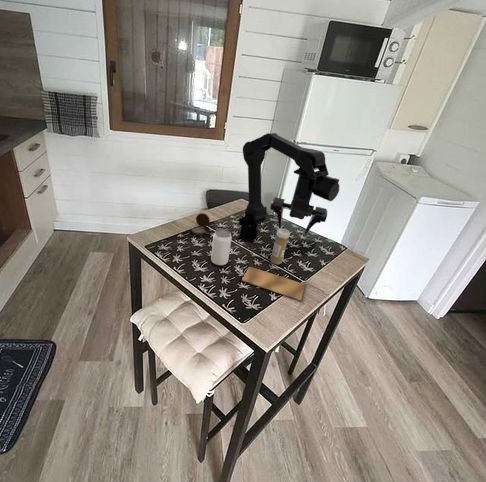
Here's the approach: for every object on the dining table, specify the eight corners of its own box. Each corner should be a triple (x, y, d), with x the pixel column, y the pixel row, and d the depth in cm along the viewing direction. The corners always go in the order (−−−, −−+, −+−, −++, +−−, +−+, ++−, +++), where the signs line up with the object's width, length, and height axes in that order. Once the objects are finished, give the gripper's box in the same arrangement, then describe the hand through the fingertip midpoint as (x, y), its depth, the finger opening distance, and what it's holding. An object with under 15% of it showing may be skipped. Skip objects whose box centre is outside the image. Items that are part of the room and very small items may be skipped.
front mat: (241, 280, 95) (241, 279, 95) (249, 267, 102) (249, 266, 102) (300, 301, 89) (301, 300, 89) (304, 285, 96) (304, 284, 96)
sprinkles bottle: (283, 264, 106) (292, 233, 99) (272, 265, 105) (280, 234, 98) (278, 257, 110) (286, 227, 103) (267, 258, 108) (275, 227, 101)
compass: (188, 233, 119) (189, 217, 115) (196, 225, 125) (197, 211, 122) (205, 238, 117) (207, 222, 113) (213, 230, 123) (214, 215, 119)
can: (230, 258, 106) (234, 230, 100) (225, 267, 100) (229, 239, 94) (213, 254, 107) (217, 226, 101) (208, 263, 102) (211, 234, 96)
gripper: (272, 191, 89) (262, 233, 97) (333, 204, 84) (317, 248, 93) (277, 181, 98) (268, 220, 106) (333, 193, 93) (319, 233, 102)
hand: (292, 230), depth 101 cm, fingers open, 9 cm apart
